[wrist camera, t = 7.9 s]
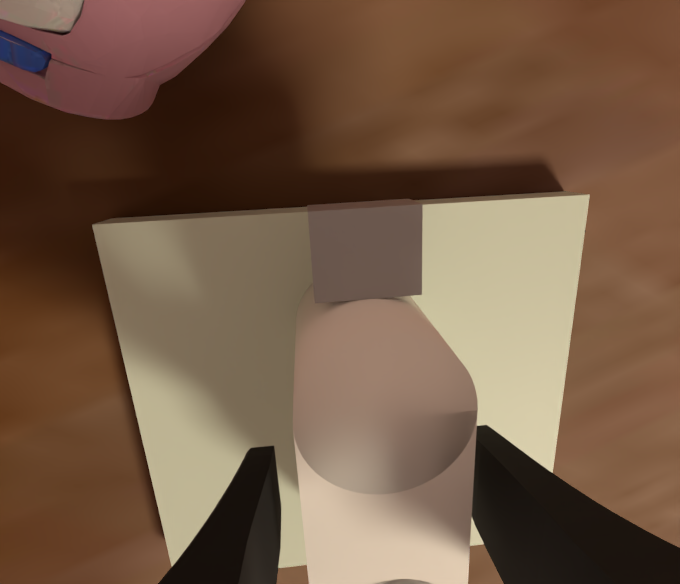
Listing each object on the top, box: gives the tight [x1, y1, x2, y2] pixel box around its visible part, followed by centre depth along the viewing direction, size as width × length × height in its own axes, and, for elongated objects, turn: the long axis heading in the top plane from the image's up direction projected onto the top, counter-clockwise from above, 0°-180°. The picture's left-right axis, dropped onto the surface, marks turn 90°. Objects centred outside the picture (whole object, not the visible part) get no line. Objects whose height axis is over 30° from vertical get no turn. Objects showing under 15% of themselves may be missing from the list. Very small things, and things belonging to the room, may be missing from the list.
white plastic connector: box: [293, 199, 478, 584], centre depth 11 cm, size 12×4×5 cm, turn 3°
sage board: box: [92, 191, 590, 568], centre depth 14 cm, size 13×14×1 cm
